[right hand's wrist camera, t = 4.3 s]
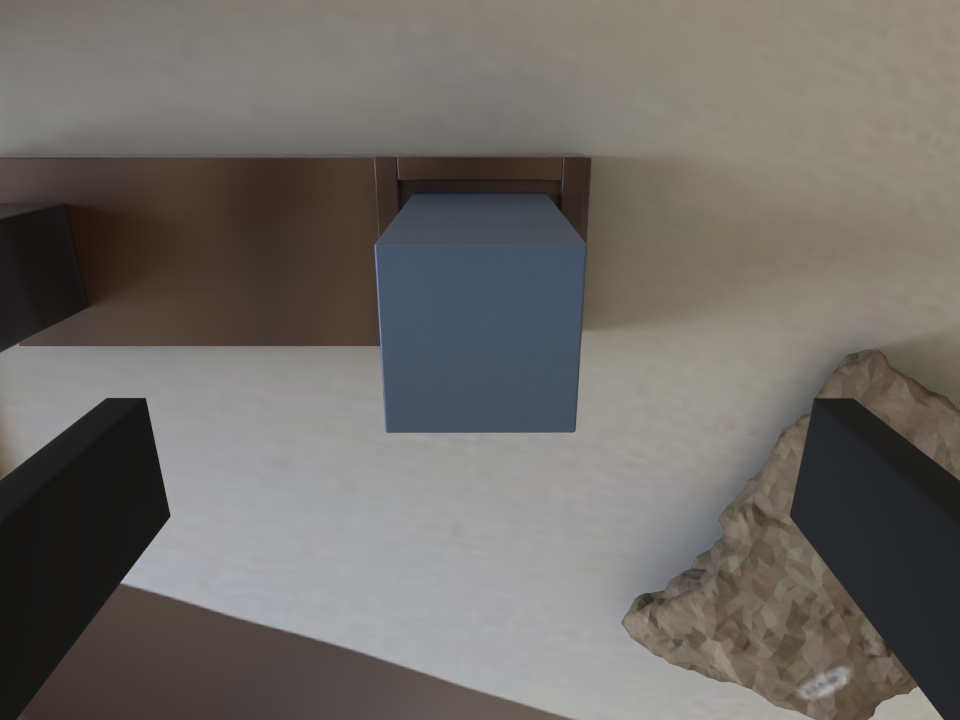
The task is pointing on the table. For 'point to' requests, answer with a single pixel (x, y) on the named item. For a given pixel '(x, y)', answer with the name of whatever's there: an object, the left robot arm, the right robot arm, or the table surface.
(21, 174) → the walnut caddy
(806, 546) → the stone
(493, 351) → the slate block
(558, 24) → the table surface
